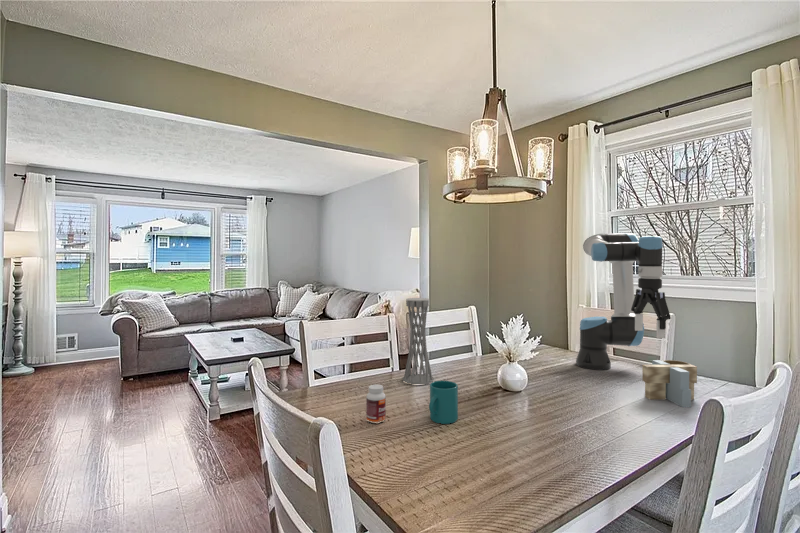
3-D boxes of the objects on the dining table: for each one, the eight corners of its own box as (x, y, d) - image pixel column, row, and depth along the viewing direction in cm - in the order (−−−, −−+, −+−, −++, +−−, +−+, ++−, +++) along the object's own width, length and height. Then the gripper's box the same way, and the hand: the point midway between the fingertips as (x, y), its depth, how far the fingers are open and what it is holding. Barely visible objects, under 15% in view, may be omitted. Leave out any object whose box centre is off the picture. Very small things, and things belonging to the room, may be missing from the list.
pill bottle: (381, 425, 125) (381, 390, 125) (363, 423, 127) (363, 388, 127) (388, 418, 131) (388, 384, 131) (370, 415, 133) (370, 382, 133)
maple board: (647, 399, 147) (647, 366, 146) (642, 396, 150) (642, 364, 149) (696, 399, 146) (697, 366, 146) (690, 396, 149) (691, 364, 149)
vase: (439, 379, 173) (439, 298, 172) (424, 387, 162) (424, 301, 161) (412, 374, 180) (412, 296, 180) (396, 382, 169) (395, 299, 168)
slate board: (650, 390, 157) (650, 359, 157) (658, 390, 157) (658, 359, 157) (682, 407, 139) (682, 372, 139) (691, 407, 139) (691, 372, 139)
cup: (418, 422, 127) (418, 387, 127) (440, 411, 136) (440, 378, 136) (442, 430, 121) (442, 393, 121) (463, 418, 131) (463, 384, 130)
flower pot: (681, 380, 169) (682, 360, 169) (696, 387, 160) (696, 366, 159) (658, 380, 170) (658, 359, 170) (670, 387, 161) (670, 365, 160)
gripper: (621, 275, 162) (621, 327, 163) (661, 280, 137) (660, 341, 138) (640, 275, 162) (640, 327, 163) (683, 279, 137) (682, 341, 138)
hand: (649, 334), depth 151 cm, fingers open, 13 cm apart
